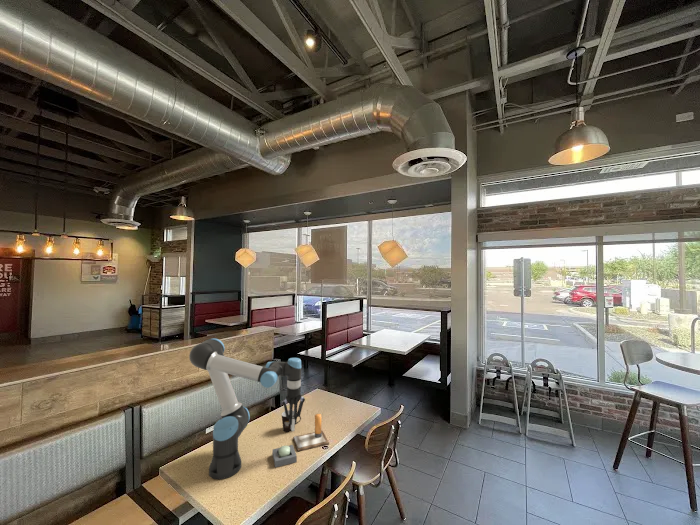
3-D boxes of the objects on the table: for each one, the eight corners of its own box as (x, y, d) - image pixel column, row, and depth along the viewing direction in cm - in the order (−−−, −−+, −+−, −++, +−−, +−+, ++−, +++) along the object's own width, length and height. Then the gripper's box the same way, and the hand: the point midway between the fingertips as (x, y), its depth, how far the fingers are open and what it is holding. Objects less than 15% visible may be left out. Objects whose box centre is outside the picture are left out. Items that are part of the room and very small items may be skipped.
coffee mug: (278, 431, 181) (278, 414, 181) (287, 424, 188) (287, 409, 189) (293, 435, 175) (293, 419, 176) (301, 429, 183) (301, 413, 183)
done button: (279, 459, 150) (279, 453, 150) (277, 452, 155) (277, 447, 156) (291, 456, 152) (291, 450, 152) (289, 450, 158) (289, 444, 158)
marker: (315, 438, 170) (315, 417, 171) (313, 434, 174) (313, 414, 175) (322, 436, 172) (322, 416, 172) (320, 433, 176) (320, 413, 176)
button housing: (275, 467, 147) (275, 461, 147) (272, 455, 157) (272, 449, 157) (296, 462, 151) (296, 456, 151) (292, 450, 161) (292, 444, 161)
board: (298, 451, 159) (298, 448, 160) (293, 438, 172) (293, 435, 173) (329, 444, 166) (329, 441, 166) (322, 432, 179) (322, 429, 179)
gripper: (283, 391, 155) (282, 435, 154) (307, 387, 160) (305, 431, 159) (280, 386, 161) (279, 428, 160) (303, 382, 167) (302, 424, 166)
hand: (292, 429), depth 160 cm, fingers closed
